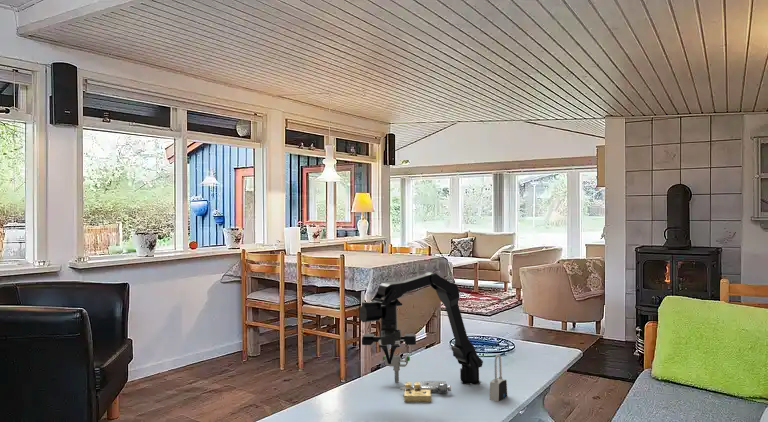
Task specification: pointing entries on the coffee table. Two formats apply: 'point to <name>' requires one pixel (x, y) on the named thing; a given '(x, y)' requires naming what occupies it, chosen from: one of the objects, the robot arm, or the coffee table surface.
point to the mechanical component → (396, 364)
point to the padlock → (498, 384)
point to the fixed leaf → (432, 386)
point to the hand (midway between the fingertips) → (389, 363)
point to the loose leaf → (416, 393)
